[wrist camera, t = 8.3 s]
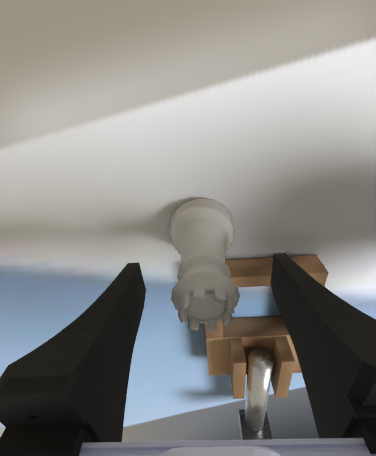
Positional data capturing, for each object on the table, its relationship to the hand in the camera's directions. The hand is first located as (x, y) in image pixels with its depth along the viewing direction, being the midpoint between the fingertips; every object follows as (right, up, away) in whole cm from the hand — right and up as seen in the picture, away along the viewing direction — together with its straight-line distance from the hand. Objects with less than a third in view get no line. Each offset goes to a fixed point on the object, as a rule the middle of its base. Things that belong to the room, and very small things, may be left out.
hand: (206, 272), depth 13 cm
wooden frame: (+5, -6, +9) cm, 12 cm away
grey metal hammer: (+6, -14, +12) cm, 19 cm away
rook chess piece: (0, +3, +5) cm, 6 cm away
